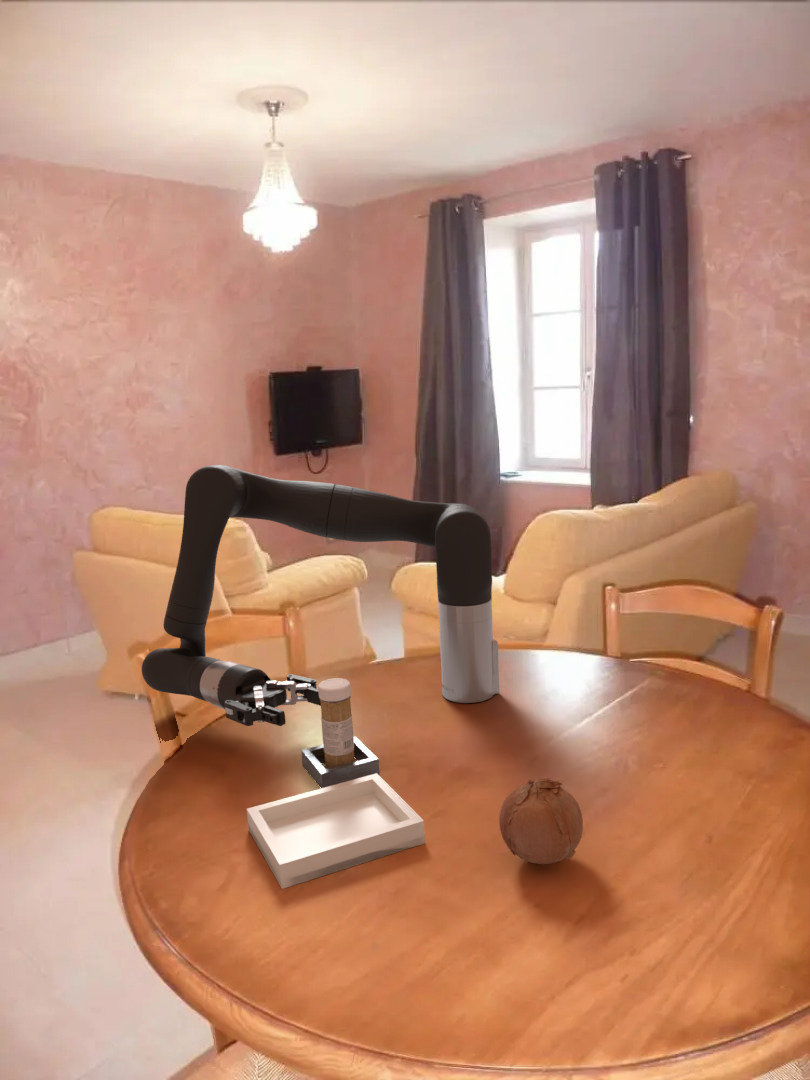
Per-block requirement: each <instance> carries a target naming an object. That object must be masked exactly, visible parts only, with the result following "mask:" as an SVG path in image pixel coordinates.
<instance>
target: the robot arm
mask: <svg viewBox="0 0 810 1080" xmlns="http://www.w3.org/2000/svg"><path fill="white" fill-rule="evenodd" d="M183 509H184V511H183V525H182V533H181V534H182V535H181V543H180V549H179V555H178V559H177V564H176V569H175V572H174V573H175V574H174V577H173V583H172V586H171V588H170V589H171V590H170V593H169V597H168V602H167V607H166V611H165V615H164V619H163V630H164V631H165V633H166V634H168V635H169V636H172V637H174V638H178V639H180V644H179V647H171V648H170V647H167V648H165V647H164V648H157V649H154V650H152V651H150V652H149V653H148V654H146V656H145V657H144V659H143V660H142V661H143V662H142V664H141V674H142V679H143V680H144V681H145V683H146V684H147V685H148V687H150V688H152V689H153V690H155V691H158V692H162V693H166V694H167V693H168V694H174V695H183V696H189V697H193V698H195V699H198V700H201V701H203V702H207V703H210V704H211V705H213V706H215V707H217V708H220V709H222V710H224V711H225V717H226V718H227V719H228V720H231V721H234V722H236V723H238V724H240V725H243V726H246V727H251V726H253V725H254V722H257V723H260V724H262V723H265V722H266V723H268V724H271V725H275V726H279V727H282V726H284V725H286V713H285V711H284V710H283V709H279V708H277V707H278V706H295V705H296V704H297V703H299V702H307V703H311V704H313V705H317V706H320V707H321V701H320V698H319V692H318V686H317V679H314V678H309V677H306V676H302V675H298V674H297V675H296V674H291V673H290V674H289V673H288V674H287V675H286V680H285V681H281V680H280V681H279V680H277V679H276V680H272V679H271V678H270V677H269V676H268V674H267V673H266V672H265V671H263V670H262V669H260V668H256V667H252V666H249V665H245V664H241V663H239V662H234V661H228V660H226V661H225V660H221V659H219V658H218V659H217V658H215V657H211V656H207V655H206V626H207V623H208V622H207V621H208V618H209V614H210V610H211V605H212V601H213V597H214V590H215V579H216V578H215V577H216V565H217V564H216V562H217V558H218V551H219V547H220V543H221V540H222V536H223V534H224V532H225V528H226V526H227V525H228V524H227V523H228V521H229V519H230V518H242V519H243V518H244V519H252V520H253V519H254V520H255V519H256V520H264V521H270V522H275V523H277V524H281V525H284V526H286V527H288V528H289V527H290V528H292V529H295V530H298V531H301V532H304V533H308V534H311V535H315V536H318V537H321V538H328V539H334V540H339V541H340V540H341V541H347V542H354V543H357V542H358V543H378V542H379V543H380V542H408V543H412V544H418V545H419V544H420V545H424V546H428V547H432V548H434V549H435V562H436V563H435V566H436V585H437V586H436V589H437V603H438V604H437V605H438V609H437V610H438V626H439V627H438V629H439V649H440V652H439V653H440V666H441V667H440V670H441V694H442V696H443V698H444V699H446V700H448V701H451V702H454V703H461V704H470V703H471V704H472V703H473V704H474V703H480V702H485V701H486V700H489V699H491V698H493V696H494V695H497V694H500V670H499V669H500V668H499V667H500V666H499V665H500V663H499V659H500V658H499V641H498V640H497V639H494V626H493V602H492V601H493V598H492V597H493V596H492V593H493V592H492V589H493V587H492V586H493V566H492V565H493V561H492V560H493V558H492V534H491V530H490V526H489V523H488V521H487V519H486V517H485V515H484V514H483V513H482V512H481V511H480V510H479V509H477V508H476V507H474V506H473V505H470V504H465V503H451V502H450V503H449V502H447V503H445V502H434V501H433V502H431V501H421V500H420V501H419V500H413V499H406V498H402V497H398V496H395V495H392V494H387V493H383V492H378V491H373V490H368V489H365V488H359V487H354V486H348V485H342V484H338V483H336V484H335V483H330V482H321V481H320V482H319V481H307V480H287V479H285V480H284V479H277V478H271V477H268V476H264V475H259V474H256V473H252V472H249V471H245V470H241V469H238V468H235V467H231V466H229V465H225V464H213V465H207V466H203V467H200V468H199V469H197V470H196V471H194V472H193V473H192V475H191V476H189V478H188V481H187V483H186V486H185V496H184V508H183ZM287 691H288V692H290V698H288V697H287ZM298 694H299V695H298ZM300 694H301V695H300Z"/></svg>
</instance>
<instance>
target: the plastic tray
mask: <svg viewBox="0 0 810 1080" xmlns="http://www.w3.org/2000/svg"><path fill="white" fill-rule="evenodd" d="M246 817H247V829H248V831H249V834H250V835H251V837H252V838H253V840H254V842H255V844H256V845H257V847H258V849H259V852H260V853H261V854H262V857H263V858H264V860H265V862H266V863H267V866H268V867H269V869H270V871H271V872H272V874H273V876H274V877H275V879H276V881H277V883H278V885H279V886H280V888H281V889H282V890H284V889H286V888H290V887H292V886H296V885H300V884H302V883H305V882H308V881H312V880H315V879H319V878H321V877H324V876H327V875H330V874H334V873H336V872H340V871H342V870H345V869H348V868H353V867H355V866H358V865H359V866H360V865H361V864H365V863H368V862H372V861H374V860H377V859H380V858H383V857H387V856H390V855H393V854H395V853H398V852H402V851H405V850H409V849H411V848H415V847H417V846H421V845H425V844H426V839H425V838H426V836H425V820H424V819H423V818H422V817H421V816H420V815H419V814H418V813H417V812H416V811H415V810H414V809H413V808H412V807H411V806H410V805H409V804H408V803H407V802H406V801H405V800H404V799H403V798H402V797H401V796H400V795H399V794H398V793H397V792H396V790H394V789H393V788H392V787H391V786H390V785H389V783H387V782H386V780H384V779H383V778H382V777H381V776H380V775H378V774H377V773H376V774H372V775H369V776H365V777H361V778H358V779H354V780H350V781H347V782H343V783H339V784H336V785H332V786H328V787H325V788H318V789H315V790H311V791H307V792H303V793H299V794H296V795H292V796H289V797H285V798H280V799H277V800H274V801H271V802H266V803H262V804H258V805H255V806H253V807H247V808H246Z"/></svg>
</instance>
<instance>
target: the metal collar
mask: <svg viewBox="0 0 810 1080" xmlns="http://www.w3.org/2000/svg"><path fill="white" fill-rule="evenodd" d="M300 751H301V761H302V767H303V769H304V770H305V769H306V770H307V771H308V772H307V771H306V770H305V771H306V772H307V773H308V774H309V776H310V775H311V776H310V777H311V778H312V780H313V781H314V780H315V781H316V782H315V781H314V782H315V783H316V784H317V785H319V786H320V787H321V788H325V787H328V786H332V785H336V784H339V783H343V782H347V781H350V780H354V779H358V778H361V777H365V776H369V775H372V774H376V773H377V774H378V775H379V776H380V762H379V761H380V759H379V757H377V755H375V754H374V753H373V752H372V751H371V750H370V749H369V748H368V747H367V746H366V745H365V744H364V743H363V742H362V741H361V740H360V739H359V738H358V737H357V736H354V757H355V758H356V759H357V760H358V761H357V760H356V759H355V758H354V759H355V762H352V763H348V764H344V765H340V766H337V767H333V768H329V769H325V767H324V765H323V764H321V763H325V752H324V747H323V744H320V745H317V746H312V747H309V748H308V747H307V748H305V749H301V750H300ZM319 786H318V787H319ZM320 787H319V788H320ZM321 788H320V789H321Z"/></svg>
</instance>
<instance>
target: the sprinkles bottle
mask: <svg viewBox="0 0 810 1080" xmlns="http://www.w3.org/2000/svg"><path fill="white" fill-rule="evenodd" d="M351 687H352V686H351V683H350V681H349V680H348V679H346V678H341V677H335V678H333V677H332V678H328V679H324V680H323V681H321V682H319V684H318V686H317V689H318V692H319V698H320V701H321V706H320V711H321V715H320V716H321V717H320V718H321V719H320V720H321V730H322V731H321V732H322V742H323V743H322V745H323V747H324V752H325V764H324V765H325V767H324V768H325V769H329V768H333V767H337V766H340V765H344V764H348V763H352V762H356V759H355V758H354V737H355V735H354V723H353V714H352V708H351V707H352V705H351V695H352V688H351Z"/></svg>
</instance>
